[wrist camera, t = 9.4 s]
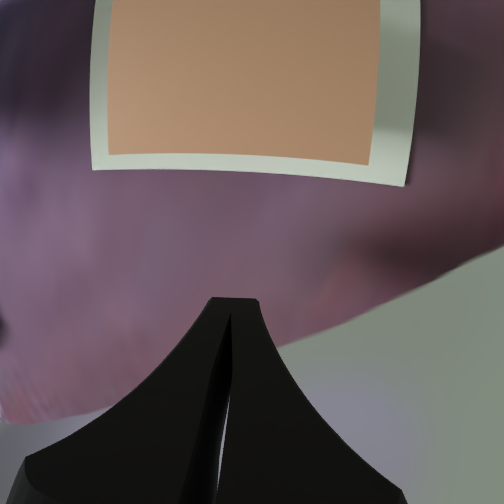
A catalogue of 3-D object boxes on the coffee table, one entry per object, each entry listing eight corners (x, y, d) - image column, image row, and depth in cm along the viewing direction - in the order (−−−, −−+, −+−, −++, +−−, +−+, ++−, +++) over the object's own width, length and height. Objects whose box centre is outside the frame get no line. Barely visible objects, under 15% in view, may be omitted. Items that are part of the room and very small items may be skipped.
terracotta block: (194, 120, 12) (108, 154, 5) (199, 18, 10) (123, -67, 3) (304, 125, 12) (368, 165, 5) (311, 23, 10) (377, -62, 3)
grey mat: (98, 167, 14) (92, 170, 13) (112, -61, 8) (107, -65, 8) (399, 183, 14) (403, 186, 13) (411, -47, 8) (417, -51, 8)
